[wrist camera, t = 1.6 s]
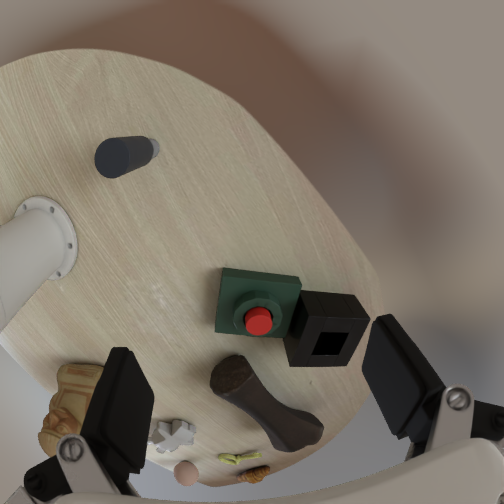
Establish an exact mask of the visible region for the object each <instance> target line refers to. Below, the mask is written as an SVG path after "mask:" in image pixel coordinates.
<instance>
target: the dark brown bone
mask: <svg viewBox="0 0 504 504" xmlns="http://www.w3.org/2000/svg"><path fill="white" fill-rule="evenodd" d="M210 388H211V389H212V391H213V393H214V394H216V395H217V396H219V397H221V398H223V399H225V400H226V401H228V402H230V403H232V404H234V405H236V406H237V407H239V408H241V409H242V410H244V411H245V412H246V413H248V414H249V415H250V416H251V417H253V418H254V419H255V420H256V421H257V422H258V423H259V424H260V425H261V426H262V428H263V429H264V430H265V432H266V434H267V435H268V437H269V439H270V441H271V443H272V445H273V447H274V448H275V449H277V450H279V451H283V452H295V451H297V450H300V449H302V448H304V447H305V446H307V445H314V444H316V443H317V442H318V441H319V440H320V439H321V437H322V433H323V430H324V426H323V424H322V423H321V422H320V421H319V420H318V419H317V418H316V417H315V416H314V415H312V414H311V413H308V412H304V411H298V410H294V409H291V408H289V407H287V406H285V405H283V404H282V403H280V402H279V401H277V400H276V399H275V398H274V397H273V396H272V395H271V394H270V393H269V392H268V391H267V390H266V388H265V387H264V386H263V384H262V383H261V382H260V380H259V378H258V377H257V376H256V374H255V373H254V371H253V369H252V367H251V366H250V364H249V363H248V361H247V360H246V358H245V357H244V356H242V355H239V356H233V357H229V358H227V359H224V360H223V361H221V362H220V363H219V364H218V365H216V367H214V369H213V370H212V374H211V380H210Z"/></svg>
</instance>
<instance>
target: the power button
mask: <svg viewBox="0 0 504 504" xmlns="http://www.w3.org/2000/svg"><path fill="white" fill-rule="evenodd" d="M245 323H246V329H247V331H248V332H249V333H251V334H253V335H263V334H266V333H267V332H269V331H270V329H271V328H272V320H271V315H270V313H269V311H268V310H267V309H265V308H263V307H255V308H252V309H250V310H249V311H248V312H247V313H246V315H245Z"/></svg>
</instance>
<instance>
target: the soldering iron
mask: <svg viewBox="0 0 504 504" xmlns="http://www.w3.org/2000/svg"><path fill="white" fill-rule="evenodd" d="M158 153H159V144H158V142H157V141H156V140H154V139H148V138H146V137H144V136H130V137H117V138H109V139H107V140H105V141H103V142H102V143H101V144H100V145H99V146H98V148H97V150H96V153H95V166H96V168H97V170H98V172H99V173H100V174H101V175H103V176H104V177H106V178H117V177H119V176H122V175H124V174H126V173H128V172H131V171H133V170H135V169H137V168H140V167H142V166H145V165H146V164H148V163H149V162H150V160H151V159H153V158H155V157H156V156H157V155H158Z"/></svg>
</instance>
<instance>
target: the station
mask: <svg viewBox="0 0 504 504" xmlns="http://www.w3.org/2000/svg"><path fill="white" fill-rule="evenodd" d="M301 287H302V284H301V282H300V279H299V277H296V276H288V275H279V274H271V273H263V272H254V271H246V270H238V269H230V268H223V271H222V277H221V284H220V291H219V298H218V305H217V312H216V319H215V332H217V333H226V334H236V335H246V336H252V337H274V338H285V337H286V334H287V331H288V328H289V325H290V322H291V319H292V316H293V312H294V309H295V306H296V303H297V300H298V297H299V293H300V290H301ZM255 307H263V308H265V309H267V310H268V311H269V313H270V315H271V320H272V328H271V329H270V331H269V332H267V333H266V334H263V335H253V334H251V333H249V332H248V331H247V329H246V323H245V315H246V313H247V312H248V311H249V310H250V309H252V308H255Z"/></svg>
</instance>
